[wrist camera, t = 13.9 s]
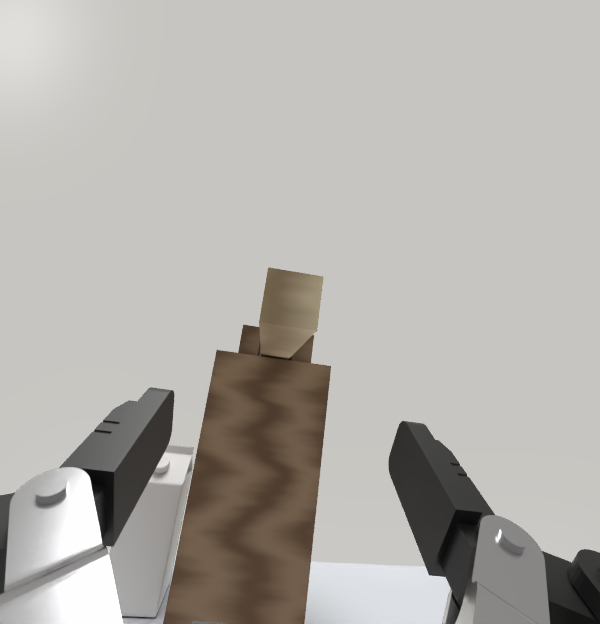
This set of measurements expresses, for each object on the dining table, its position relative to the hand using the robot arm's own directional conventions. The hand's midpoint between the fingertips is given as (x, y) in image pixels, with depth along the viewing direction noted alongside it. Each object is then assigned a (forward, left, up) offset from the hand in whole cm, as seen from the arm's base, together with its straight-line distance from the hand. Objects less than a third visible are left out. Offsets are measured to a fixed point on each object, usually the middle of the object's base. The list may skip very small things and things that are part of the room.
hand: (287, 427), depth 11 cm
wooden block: (0, +16, +4) cm, 17 cm away
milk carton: (-13, +39, -28) cm, 50 cm away
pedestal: (0, +29, -28) cm, 40 cm away
